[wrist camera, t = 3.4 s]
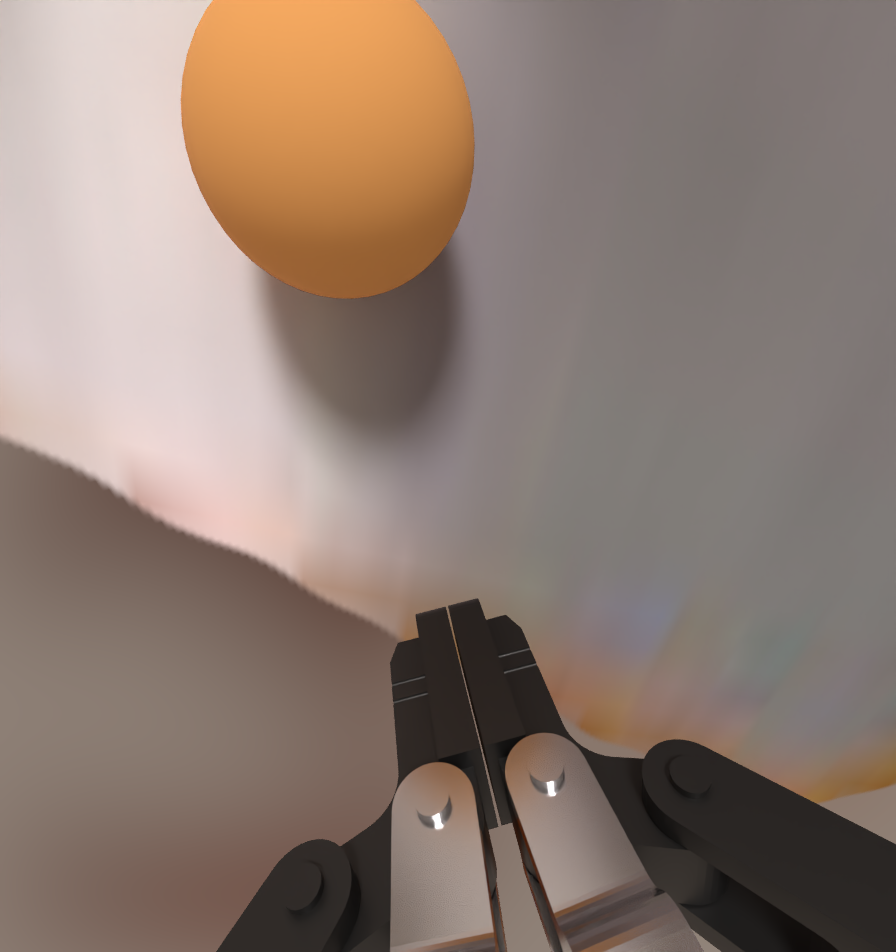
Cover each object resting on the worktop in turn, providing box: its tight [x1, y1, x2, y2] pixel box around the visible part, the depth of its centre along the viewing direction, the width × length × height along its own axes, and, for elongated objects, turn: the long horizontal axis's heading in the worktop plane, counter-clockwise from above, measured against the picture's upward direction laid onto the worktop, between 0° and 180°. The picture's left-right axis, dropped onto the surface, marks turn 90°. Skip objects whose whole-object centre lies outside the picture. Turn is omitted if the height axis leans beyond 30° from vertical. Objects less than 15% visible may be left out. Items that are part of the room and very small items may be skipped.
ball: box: [181, 0, 475, 299], centre depth 10 cm, size 6×6×6 cm
